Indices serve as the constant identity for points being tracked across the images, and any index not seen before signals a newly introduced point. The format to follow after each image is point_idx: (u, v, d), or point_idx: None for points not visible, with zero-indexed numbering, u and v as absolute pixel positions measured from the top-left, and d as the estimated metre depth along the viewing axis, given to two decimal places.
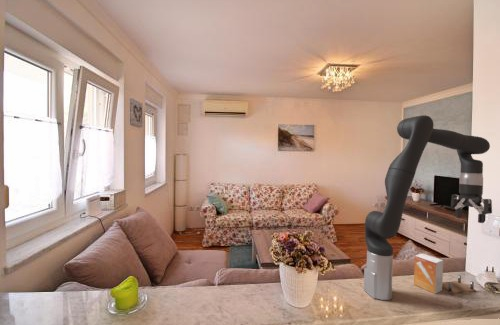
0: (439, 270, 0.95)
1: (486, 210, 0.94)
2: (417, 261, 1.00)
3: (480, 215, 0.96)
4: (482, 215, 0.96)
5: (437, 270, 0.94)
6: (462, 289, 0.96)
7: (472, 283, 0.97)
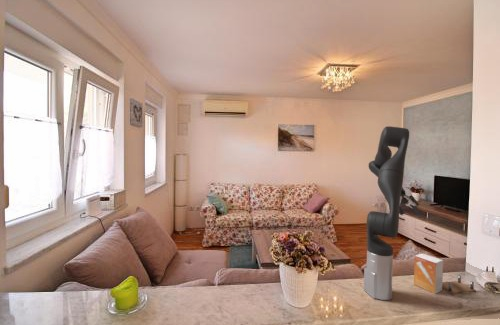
0: (439, 270, 0.95)
1: (417, 202, 1.16)
2: (417, 261, 1.00)
3: (416, 207, 1.14)
4: (416, 207, 1.14)
5: (437, 270, 0.94)
6: (462, 289, 0.96)
7: (472, 283, 0.97)
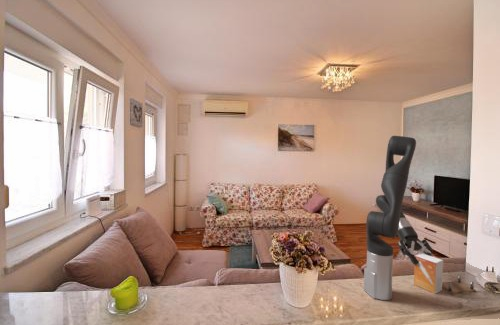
0: (439, 270, 0.95)
1: (431, 248, 1.04)
2: None
3: (430, 255, 1.02)
4: None
5: (437, 270, 0.94)
6: (462, 289, 0.96)
7: (472, 283, 0.97)
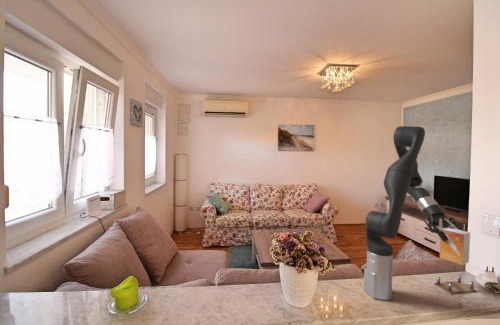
0: (467, 242, 0.95)
1: (459, 226, 1.03)
2: None
3: None
4: None
5: (465, 241, 0.95)
6: (462, 289, 0.96)
7: (472, 283, 0.97)
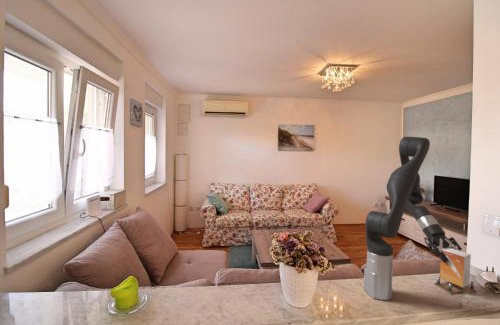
0: (467, 264, 0.95)
1: (459, 246, 1.03)
2: None
3: None
4: None
5: (465, 264, 0.94)
6: (462, 289, 0.96)
7: (472, 283, 0.97)
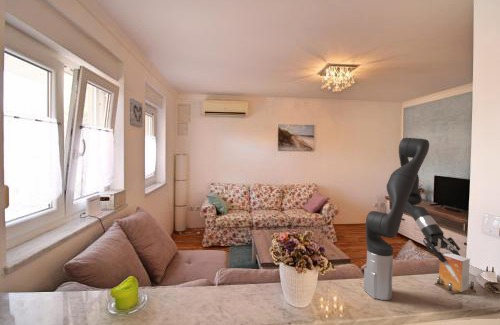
0: (466, 268, 0.95)
1: (458, 246, 1.03)
2: None
3: (457, 252, 1.02)
4: None
5: (464, 268, 0.95)
6: None
7: (472, 283, 0.97)
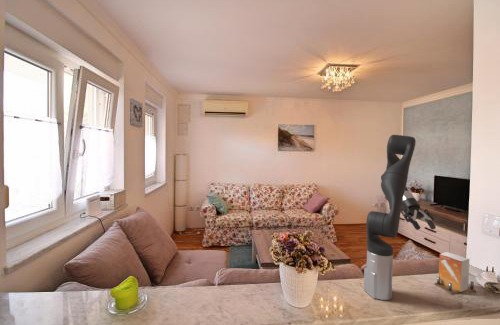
0: (465, 268, 0.95)
1: (432, 217, 1.15)
2: (442, 259, 1.00)
3: (431, 222, 1.13)
4: (431, 222, 1.14)
5: (463, 268, 0.95)
6: None
7: (472, 283, 0.97)
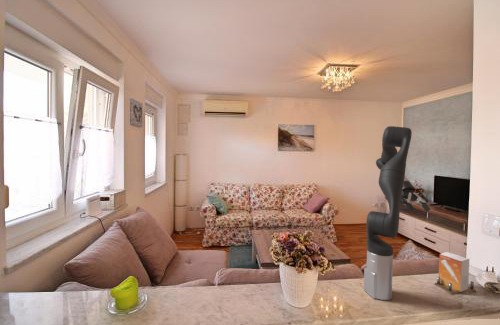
0: (465, 268, 0.95)
1: (427, 199, 1.15)
2: (442, 259, 1.00)
3: (426, 204, 1.13)
4: (426, 204, 1.13)
5: (463, 268, 0.95)
6: None
7: (472, 283, 0.97)
